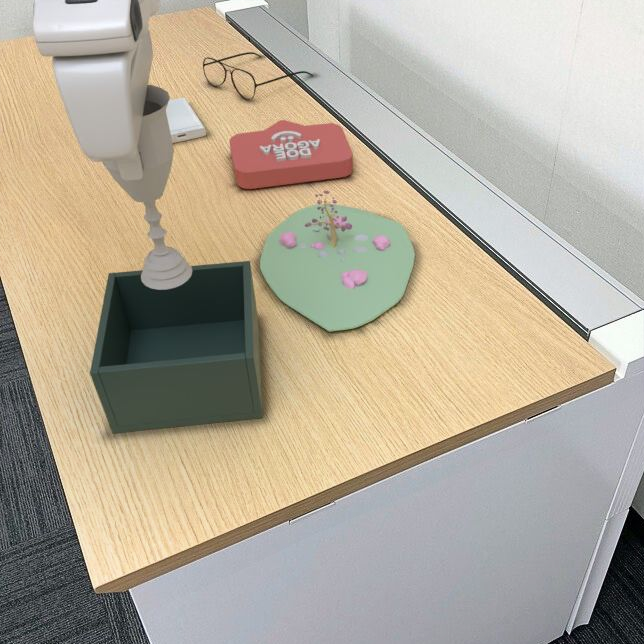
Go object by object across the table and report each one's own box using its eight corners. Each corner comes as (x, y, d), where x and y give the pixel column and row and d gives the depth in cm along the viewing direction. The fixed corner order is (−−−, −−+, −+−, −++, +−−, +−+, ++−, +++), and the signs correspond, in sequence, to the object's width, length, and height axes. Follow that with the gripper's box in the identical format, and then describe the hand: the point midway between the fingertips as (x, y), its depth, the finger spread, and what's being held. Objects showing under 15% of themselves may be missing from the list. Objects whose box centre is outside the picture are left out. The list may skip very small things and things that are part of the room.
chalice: (202, 249, 76) (169, 80, 64) (204, 290, 71) (169, 115, 59) (130, 258, 75) (83, 88, 63) (127, 299, 71) (76, 124, 58)
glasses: (202, 82, 137) (200, 54, 134) (261, 65, 146) (260, 39, 143) (255, 104, 130) (255, 75, 127) (313, 85, 139) (314, 58, 136)
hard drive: (139, 106, 127) (156, 137, 119) (185, 96, 129) (205, 126, 121) (141, 115, 128) (158, 146, 120) (186, 105, 130) (206, 135, 122)
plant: (453, 308, 89) (459, 248, 83) (288, 345, 85) (281, 285, 79) (384, 202, 107) (385, 145, 100) (245, 228, 103) (237, 171, 96)
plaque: (336, 110, 119) (355, 155, 109) (336, 132, 122) (355, 178, 112) (226, 122, 117) (234, 170, 107) (229, 144, 120) (238, 193, 109)
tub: (112, 433, 76) (89, 373, 70) (126, 332, 87) (108, 272, 81) (263, 418, 77) (253, 357, 71) (258, 320, 89) (249, 260, 82)
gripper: (73, -52, 62) (113, 104, 71) (27, 42, 47) (84, 223, 57) (149, -57, 62) (178, 99, 72) (126, 36, 48) (167, 216, 57)
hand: (137, 155), depth 64 cm, fingers closed on chalice, 6 cm apart
